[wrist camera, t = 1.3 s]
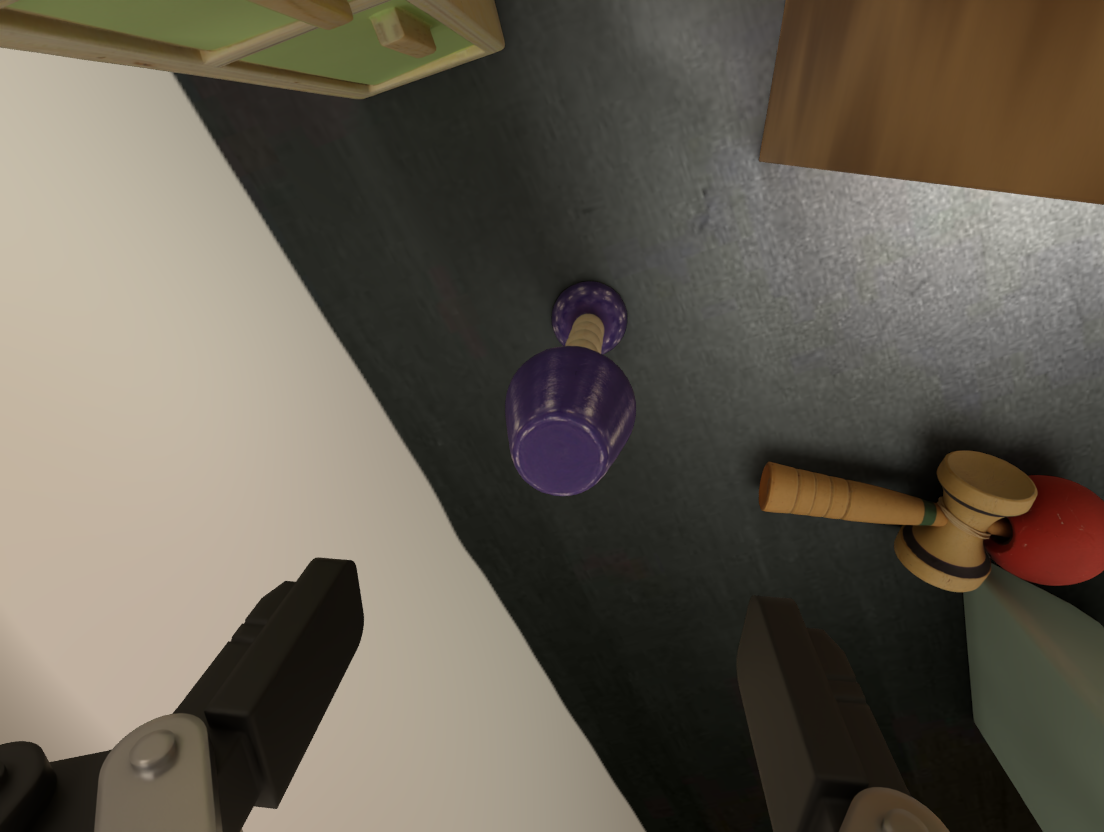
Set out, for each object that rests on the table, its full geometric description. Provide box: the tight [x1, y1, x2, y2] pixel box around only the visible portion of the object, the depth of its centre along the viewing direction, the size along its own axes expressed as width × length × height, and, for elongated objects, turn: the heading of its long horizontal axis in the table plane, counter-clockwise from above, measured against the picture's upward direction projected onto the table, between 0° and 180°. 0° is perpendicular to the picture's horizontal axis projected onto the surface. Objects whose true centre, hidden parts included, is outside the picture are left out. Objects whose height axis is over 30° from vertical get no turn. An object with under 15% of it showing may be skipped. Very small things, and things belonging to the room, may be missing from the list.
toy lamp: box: [505, 281, 636, 496], centre depth 25 cm, size 5×5×17 cm
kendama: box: [759, 451, 1104, 592], centre depth 33 cm, size 8×6×18 cm
